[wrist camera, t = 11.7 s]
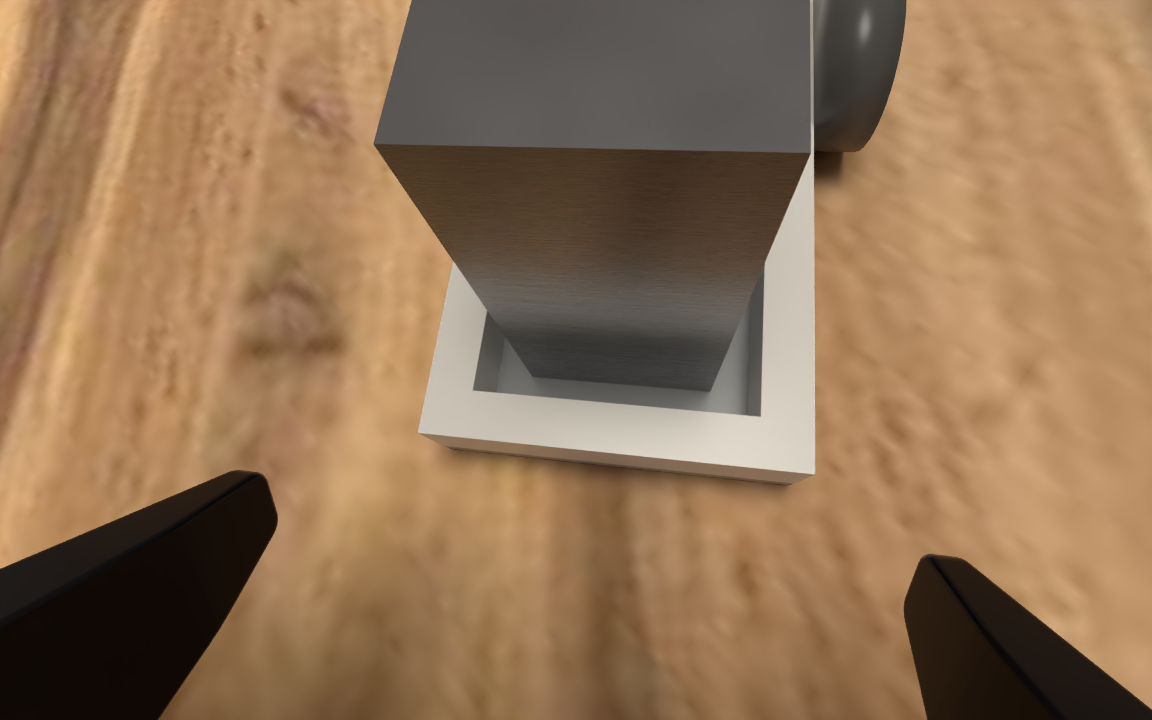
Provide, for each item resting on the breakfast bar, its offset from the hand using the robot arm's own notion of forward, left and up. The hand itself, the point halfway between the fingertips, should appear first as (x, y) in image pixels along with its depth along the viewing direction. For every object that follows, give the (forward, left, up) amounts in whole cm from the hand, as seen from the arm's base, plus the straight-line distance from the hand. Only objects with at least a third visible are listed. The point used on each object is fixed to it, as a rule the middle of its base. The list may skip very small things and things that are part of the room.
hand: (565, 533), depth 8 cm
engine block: (+4, +6, -7) cm, 10 cm away
